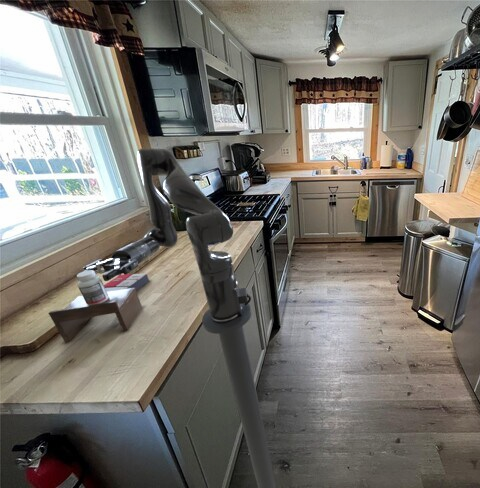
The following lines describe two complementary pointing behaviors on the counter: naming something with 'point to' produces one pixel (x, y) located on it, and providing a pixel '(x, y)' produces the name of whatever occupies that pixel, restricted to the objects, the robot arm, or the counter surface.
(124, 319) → the spice shelf
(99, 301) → the pill bottle
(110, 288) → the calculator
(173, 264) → the counter surface
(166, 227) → the robot arm
